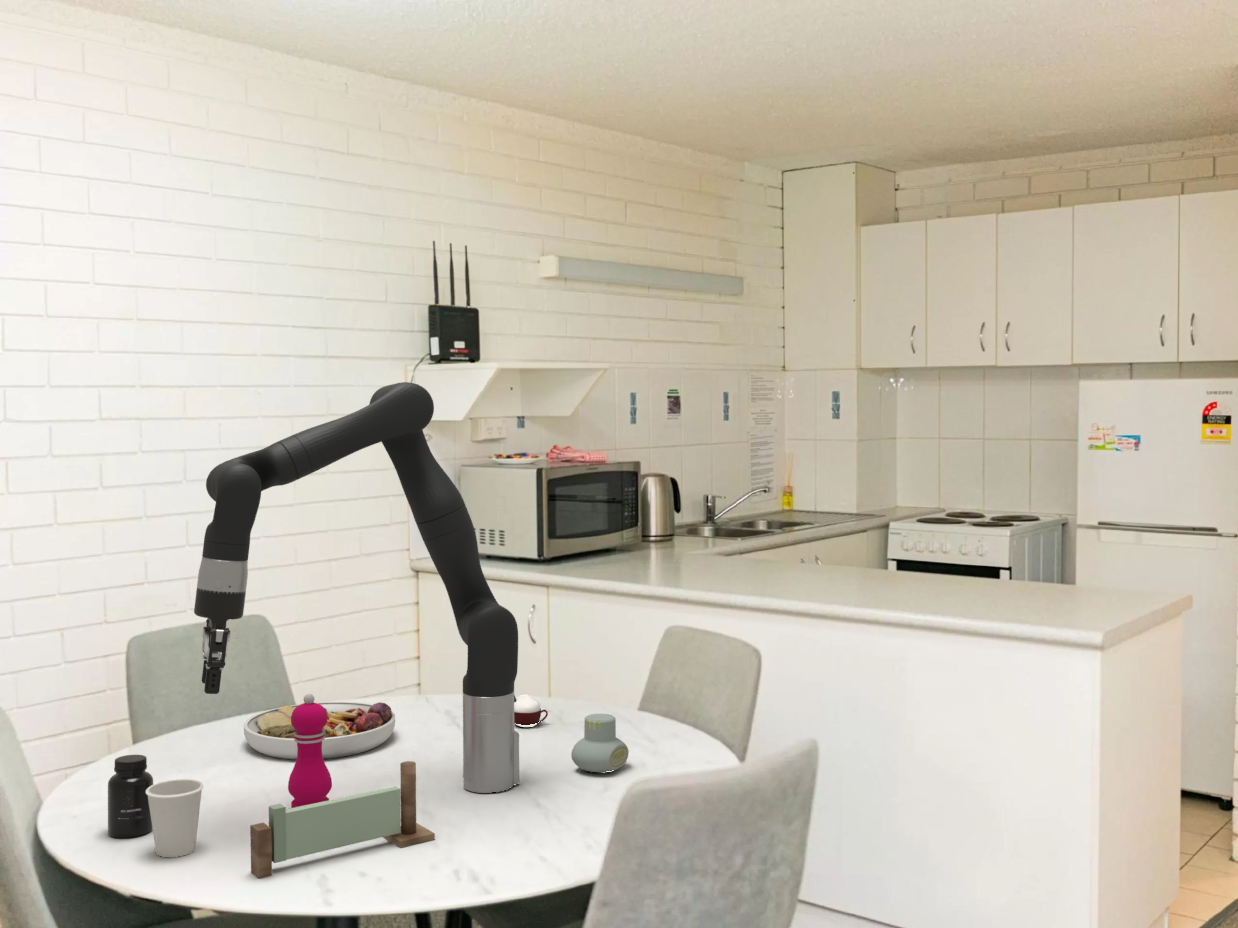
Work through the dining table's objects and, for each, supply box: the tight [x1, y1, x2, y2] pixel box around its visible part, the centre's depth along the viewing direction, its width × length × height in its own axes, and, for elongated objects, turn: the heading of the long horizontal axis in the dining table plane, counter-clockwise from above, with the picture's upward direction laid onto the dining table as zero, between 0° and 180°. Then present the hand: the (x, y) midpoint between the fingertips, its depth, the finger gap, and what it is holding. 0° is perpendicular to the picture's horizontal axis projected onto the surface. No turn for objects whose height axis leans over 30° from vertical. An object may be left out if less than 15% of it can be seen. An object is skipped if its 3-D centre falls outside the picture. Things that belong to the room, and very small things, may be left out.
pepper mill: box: [287, 693, 333, 808], centre depth 204 cm, size 7×7×20 cm
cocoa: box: [514, 693, 549, 725], centre depth 260 cm, size 10×6×12 cm, turn 74°
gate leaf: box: [268, 786, 401, 864], centre depth 184 cm, size 21×2×8 cm, turn 128°
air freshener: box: [571, 713, 630, 773], centre depth 228 cm, size 11×8×10 cm
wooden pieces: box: [249, 760, 436, 879], centre depth 185 cm, size 28×6×12 cm, turn 128°
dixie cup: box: [146, 778, 204, 858], centre depth 186 cm, size 8×8×10 cm
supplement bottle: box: [107, 754, 154, 839], centre depth 195 cm, size 7×7×12 cm
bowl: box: [243, 701, 396, 760], centre depth 247 cm, size 30×30×8 cm
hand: (209, 688), depth 193 cm, fingers open, 8 cm apart
